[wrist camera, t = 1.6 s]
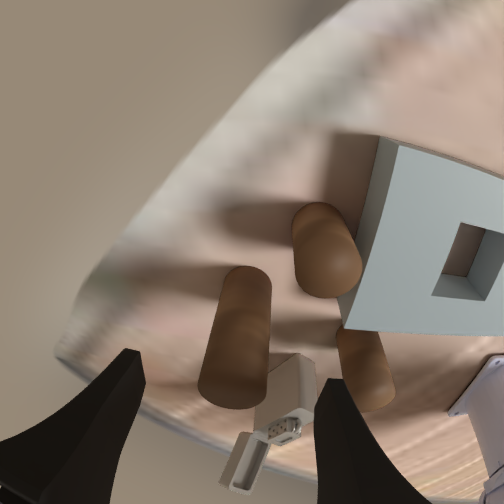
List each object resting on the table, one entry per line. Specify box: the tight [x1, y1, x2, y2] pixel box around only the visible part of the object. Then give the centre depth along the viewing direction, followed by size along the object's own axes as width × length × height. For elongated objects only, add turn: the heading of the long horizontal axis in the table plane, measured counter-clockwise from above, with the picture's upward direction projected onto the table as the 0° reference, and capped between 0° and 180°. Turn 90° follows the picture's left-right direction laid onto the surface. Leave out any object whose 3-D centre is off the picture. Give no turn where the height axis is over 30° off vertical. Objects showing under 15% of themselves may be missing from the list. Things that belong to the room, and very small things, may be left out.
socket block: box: [337, 136, 504, 336], centre depth 14 cm, size 12×9×2 cm
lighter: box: [219, 354, 318, 495], centre depth 18 cm, size 7×2×8 cm, turn 140°
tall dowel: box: [198, 266, 272, 409], centre depth 14 cm, size 3×3×7 cm
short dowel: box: [292, 202, 362, 298], centre depth 14 cm, size 3×3×4 cm
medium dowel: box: [336, 325, 396, 412], centre depth 16 cm, size 3×3×5 cm
